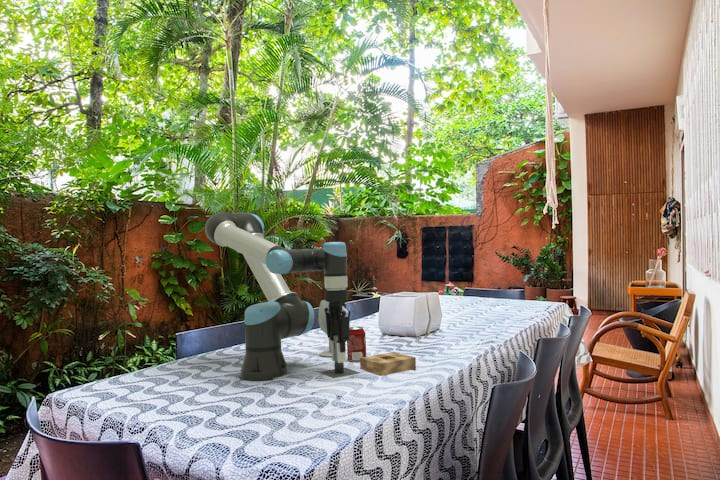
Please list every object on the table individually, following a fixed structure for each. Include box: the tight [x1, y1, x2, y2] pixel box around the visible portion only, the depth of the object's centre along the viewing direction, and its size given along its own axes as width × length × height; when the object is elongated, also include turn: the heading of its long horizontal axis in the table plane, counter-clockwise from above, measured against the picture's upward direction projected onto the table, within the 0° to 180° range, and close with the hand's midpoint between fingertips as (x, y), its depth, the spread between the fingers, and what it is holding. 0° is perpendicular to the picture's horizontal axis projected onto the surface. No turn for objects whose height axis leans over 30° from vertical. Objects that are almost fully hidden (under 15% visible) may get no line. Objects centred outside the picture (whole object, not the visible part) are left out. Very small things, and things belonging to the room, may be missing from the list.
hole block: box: [359, 351, 417, 376], centre depth 167 cm, size 14×12×4 cm
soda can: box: [346, 326, 367, 363], centre depth 181 cm, size 7×7×12 cm
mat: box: [318, 367, 361, 379], centre depth 164 cm, size 10×10×1 cm
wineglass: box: [318, 299, 332, 358], centre depth 194 cm, size 9×9×21 cm
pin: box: [333, 335, 345, 373], centre depth 164 cm, size 3×3×12 cm
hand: (338, 361), depth 164 cm, fingers closed on pin, 3 cm apart
